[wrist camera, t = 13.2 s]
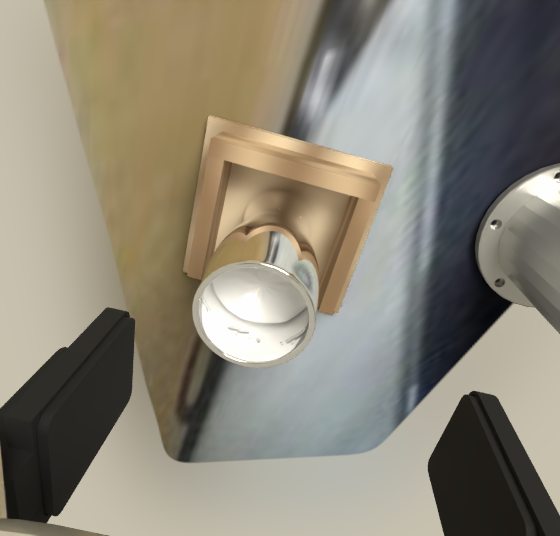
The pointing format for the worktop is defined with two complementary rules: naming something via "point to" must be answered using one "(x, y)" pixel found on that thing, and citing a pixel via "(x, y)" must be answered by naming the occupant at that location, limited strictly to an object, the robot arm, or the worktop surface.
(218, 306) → the beer glass
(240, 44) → the worktop surface
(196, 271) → the glass rest
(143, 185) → the worktop surface
